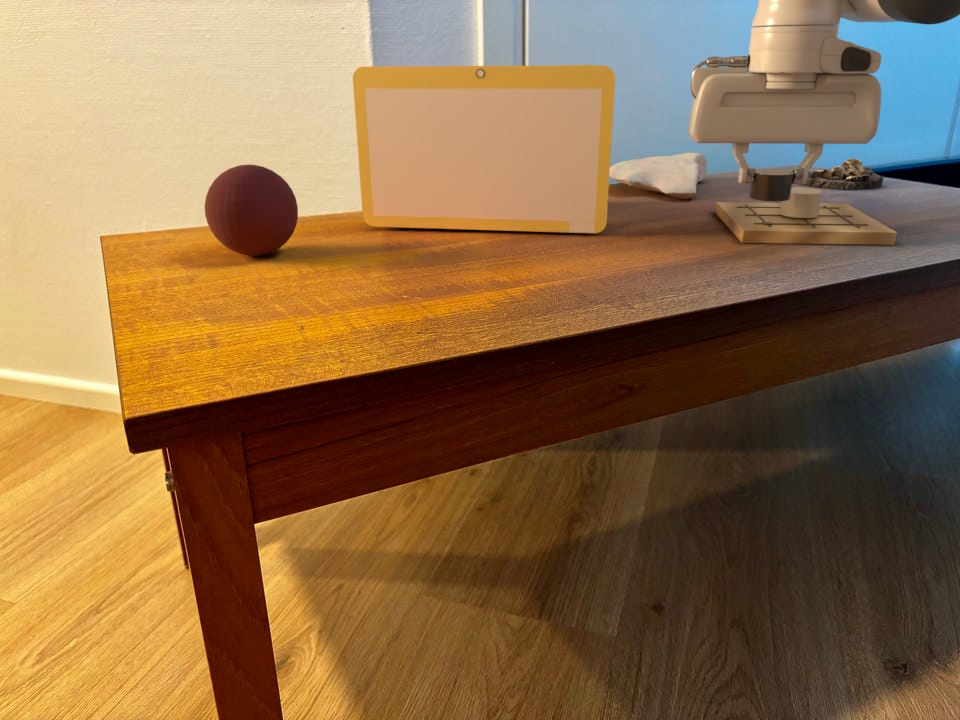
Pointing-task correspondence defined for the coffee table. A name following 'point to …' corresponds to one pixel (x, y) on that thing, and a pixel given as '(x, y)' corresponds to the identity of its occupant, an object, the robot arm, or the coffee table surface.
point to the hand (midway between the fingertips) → (771, 183)
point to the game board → (803, 225)
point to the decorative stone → (663, 173)
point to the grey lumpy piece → (845, 177)
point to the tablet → (485, 146)
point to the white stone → (802, 203)
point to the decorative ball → (251, 210)
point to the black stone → (771, 185)
